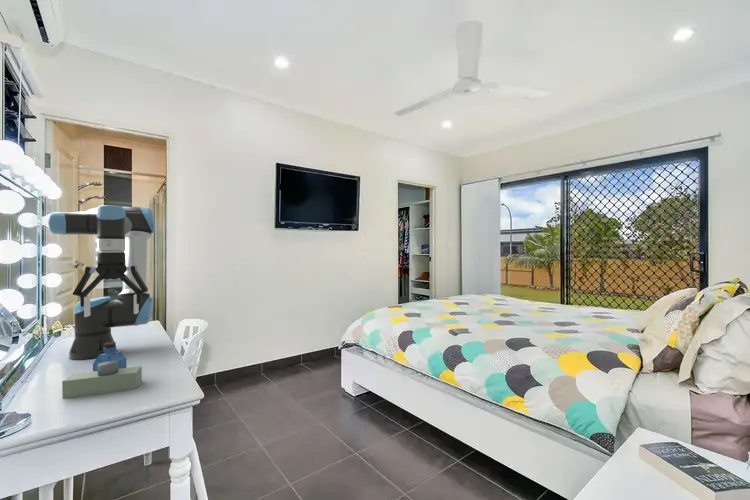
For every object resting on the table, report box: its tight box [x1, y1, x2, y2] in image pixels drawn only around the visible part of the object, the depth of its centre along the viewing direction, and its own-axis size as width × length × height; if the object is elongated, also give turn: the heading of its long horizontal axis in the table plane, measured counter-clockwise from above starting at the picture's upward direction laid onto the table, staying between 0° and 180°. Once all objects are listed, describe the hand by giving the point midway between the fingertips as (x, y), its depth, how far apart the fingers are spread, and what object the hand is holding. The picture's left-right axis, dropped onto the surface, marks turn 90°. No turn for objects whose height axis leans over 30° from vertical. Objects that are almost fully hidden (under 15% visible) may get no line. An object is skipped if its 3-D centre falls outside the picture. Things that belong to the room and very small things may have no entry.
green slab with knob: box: [61, 361, 143, 399], centre depth 109 cm, size 15×18×8 cm
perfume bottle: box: [92, 341, 127, 372], centre depth 113 cm, size 6×6×12 cm
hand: (112, 314), depth 115 cm, fingers open, 13 cm apart
